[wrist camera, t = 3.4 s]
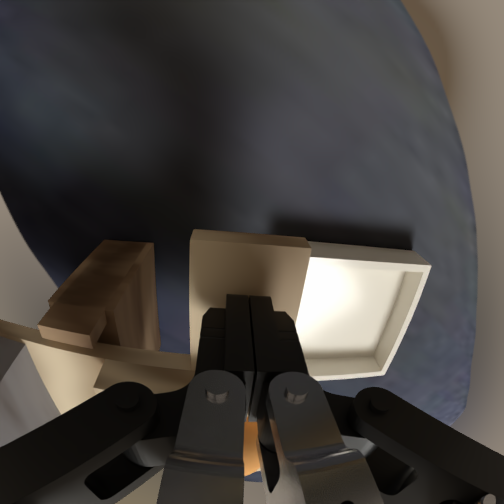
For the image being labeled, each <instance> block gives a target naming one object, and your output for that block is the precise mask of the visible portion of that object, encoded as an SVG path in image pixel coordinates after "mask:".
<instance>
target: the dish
mask: <svg viewBox="0 0 504 504" xmlns="http://www.w3.org/2000/svg"><path fill="white" fill-rule="evenodd" d="M307 242H308V243H309V245H310V247H311V248H312V249H311V254H310V259H309V264H308V269H307V274H306V279H305V284H304V289H303V293H302V298H301V302H300V307H299V311H298V316H297V320H296V325H295V326H296V330H297V333H298V337H299V342H300V344H301V347H302V351H303V354H304V358H305V361H306V365H307V368H308V372H309V375H310V376H311V377H313V378H314V379H315V380H316V381H319V380H336V379H350V378H361V377H371V376H380V375H385V373H386V371H387V369H388V367H389V365H390V363H391V361H392V359H393V357H394V355H395V353H396V351H397V349H398V347H399V345H400V343H401V341H402V338H403V336H404V334H405V332H406V330H407V327H408V325H409V323H410V320H411V318H412V316H413V313H414V311H415V309H416V306H417V304H418V301H419V299H420V296H421V293H422V291H423V288H424V285H425V283H426V280H427V277H428V274H429V271H430V268H431V265H430V264H429V263H428V262H427V261H426V260H424V259H423V258H422V257H421V256H420V255H418V254H417V253H416V252H415V251H411V250H400V249H390V248H379V247H369V246H358V245H346V244H335V243H323V242H311V241H307Z"/></svg>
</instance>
